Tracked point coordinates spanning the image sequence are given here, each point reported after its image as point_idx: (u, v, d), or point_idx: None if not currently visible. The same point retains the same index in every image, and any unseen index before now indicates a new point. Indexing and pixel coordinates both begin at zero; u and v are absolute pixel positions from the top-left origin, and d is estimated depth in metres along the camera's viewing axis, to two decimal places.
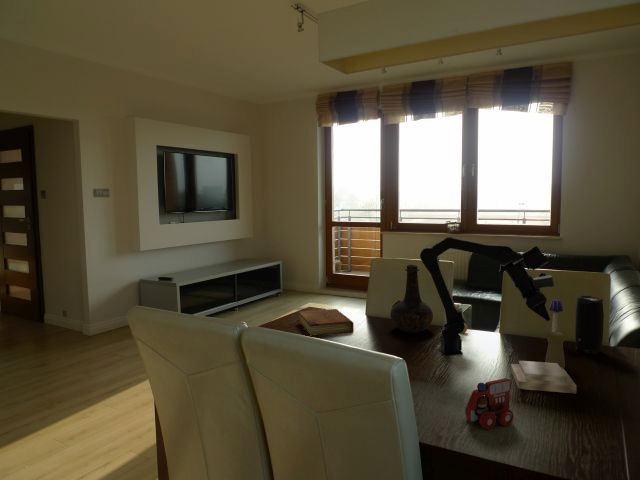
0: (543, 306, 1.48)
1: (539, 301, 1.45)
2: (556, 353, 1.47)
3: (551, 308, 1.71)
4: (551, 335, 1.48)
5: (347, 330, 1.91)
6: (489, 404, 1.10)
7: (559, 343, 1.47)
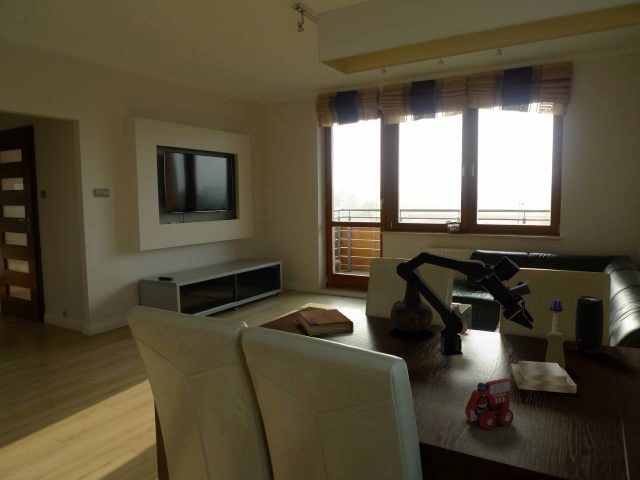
0: (522, 315, 1.47)
1: (515, 311, 1.45)
2: (556, 353, 1.47)
3: (551, 308, 1.71)
4: (551, 335, 1.48)
5: (347, 330, 1.91)
6: (489, 404, 1.10)
7: (559, 343, 1.47)
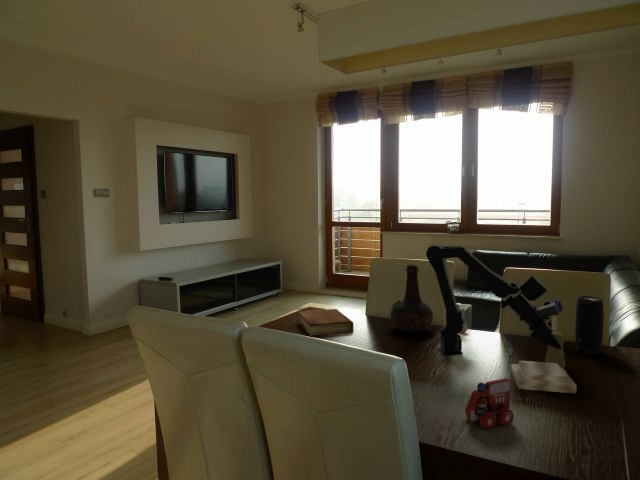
0: (550, 335, 1.45)
1: (543, 333, 1.42)
2: (556, 353, 1.47)
3: None
4: None
5: (347, 330, 1.91)
6: (489, 404, 1.10)
7: (559, 343, 1.47)
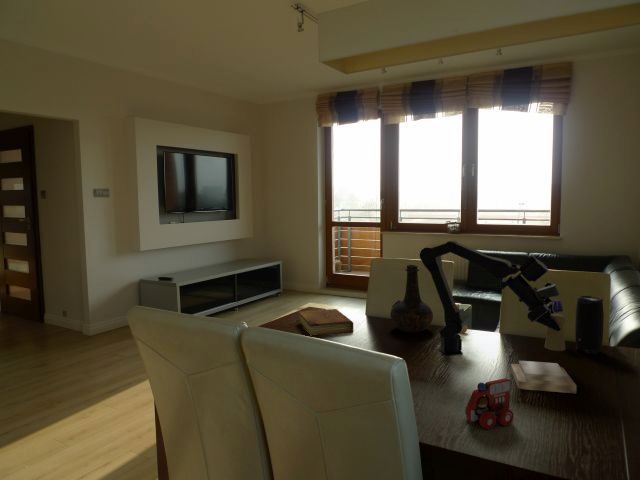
0: (549, 316, 1.43)
1: (540, 313, 1.39)
2: (556, 335, 1.44)
3: None
4: None
5: (347, 330, 1.91)
6: (489, 404, 1.10)
7: (559, 325, 1.43)
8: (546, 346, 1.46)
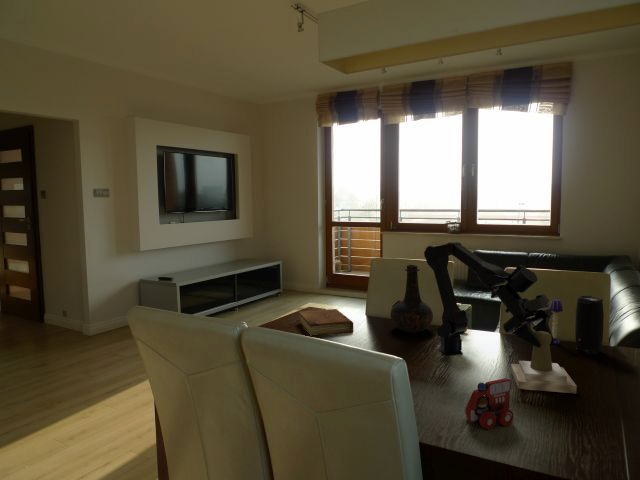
0: (527, 331, 1.33)
1: (513, 325, 1.33)
2: (538, 354, 1.34)
3: (551, 308, 1.71)
4: None
5: (347, 330, 1.91)
6: (489, 404, 1.10)
7: (542, 343, 1.33)
8: (530, 365, 1.37)
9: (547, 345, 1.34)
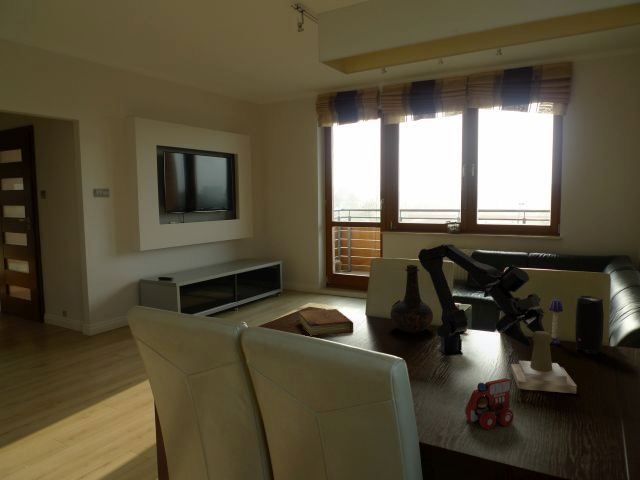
0: (517, 330, 1.35)
1: (504, 324, 1.35)
2: (538, 354, 1.34)
3: (551, 308, 1.71)
4: (534, 334, 1.35)
5: (347, 330, 1.91)
6: (489, 404, 1.10)
7: (542, 343, 1.33)
8: (530, 365, 1.37)
9: (547, 345, 1.34)
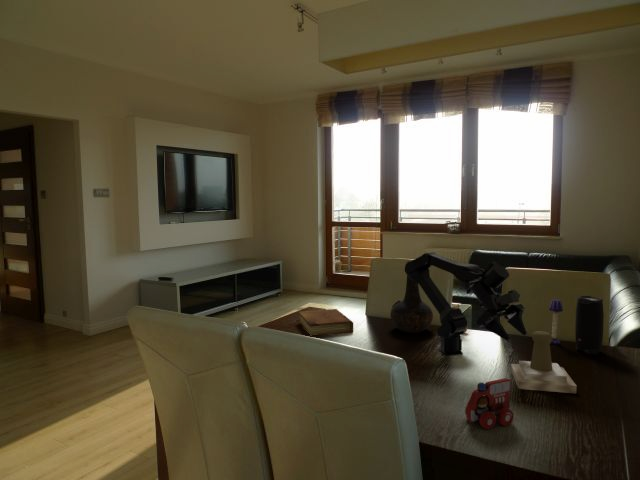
0: (497, 324, 1.41)
1: (485, 319, 1.41)
2: (538, 354, 1.34)
3: (551, 308, 1.71)
4: (534, 334, 1.35)
5: (347, 330, 1.91)
6: (489, 404, 1.10)
7: (542, 343, 1.33)
8: (530, 365, 1.37)
9: (547, 345, 1.34)
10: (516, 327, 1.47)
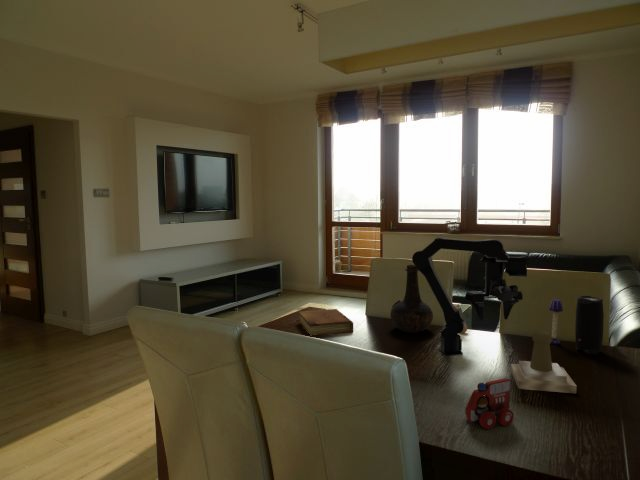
0: None
1: (470, 299, 1.55)
2: (538, 354, 1.34)
3: (551, 308, 1.71)
4: (534, 334, 1.35)
5: (347, 330, 1.91)
6: (489, 404, 1.10)
7: (542, 343, 1.33)
8: (530, 365, 1.37)
9: (547, 345, 1.34)
10: (504, 308, 1.59)
